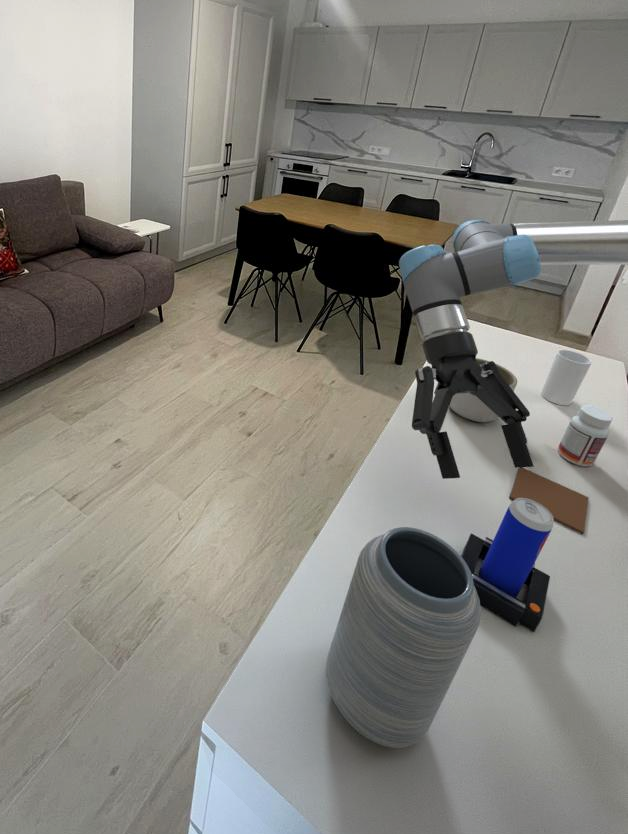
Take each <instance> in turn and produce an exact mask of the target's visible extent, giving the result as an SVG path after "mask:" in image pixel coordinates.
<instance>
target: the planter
mask: <svg viewBox="0 0 628 834" xmlns="http://www.w3.org/2000/svg"><path fill="white" fill-rule="evenodd" d="M476 361H477V362H478V364H479V365H480V364H483V363H487V362H490V361H491V360H490V361H489V360H486V359H483V358H478V357H476ZM495 364H496V366H497V368H498V371H499V373H500V375H501V376H502V377H503V379H504V380H505V381H506V382H507V384H508V385H509V386H510V388H511V389H512V390H513V391H514V392H515V389H516V387H517V386H518V378H517V377H516V375H515V374H514V373H513V372H511V371H510V370H508V369H507V368H506V367H504V366H502V365H500V364H497V363H495ZM478 386H479V385H478ZM449 408H450V409H451V410H452V411H453V412H454V413H455V414H457V415H459V416H460V417H462V418H464V419H466V420H469V421H472V422H477V423H491V422H494V421H496V420H498V419H500V418H499V417H498V416H497V415H496V414H495V413H494V412H493V411H492V410H491V409H489V408H488V407H487V406H486V405H485V404H484V403H483V402H482V401H481V400H480V399H479V398H478V397H476V396H475V395H472V394H470V393H465V394H462V393H459V394H455V395H454V396H453V397H452V400H451V403H450V405H449Z"/></svg>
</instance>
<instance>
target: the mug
mask: <svg viewBox="0 0 628 834" xmlns="http://www.w3.org/2000/svg"><path fill="white" fill-rule="evenodd" d="M592 363H593V361H592V360H591V359H590V358H589V357H588V356H586V355H584V354H583V353H580V352H577V351H574V350H571V349H558V350H557V352H556V354H555V356H554V359H553V361H552V364H551V366H550V369H549V371H548V374H547V377H546V379H545V381H544V384H543V386H542V389H541V390H540V391H541V392H540V395H541V397H543V398H544V399H545V400H546V401H549V402H550V403H553V404H556V405H559V406H565V405H566V406H570V405H571V404H572V402H573V401H574V399H575V397H576V395H577V393H578V390H579V389H580V387H581V385H582V383H583V381H584V379H585V377H586V375H587V373H588V371H589V369H590V367H591V365H592Z"/></svg>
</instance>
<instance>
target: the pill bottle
mask: <svg viewBox="0 0 628 834" xmlns="http://www.w3.org/2000/svg"><path fill="white" fill-rule="evenodd" d="M613 420H614V419H613V416H612V415H611V414H610V413H609V412H608V411H606V410H604V409H603V408H601V407H598V406H594V405H590V404H583V405H581V406H580V407H579V410H578V412H577V415H574V416H573V417H572V418H571V419H570V421H569V423H568V424H567V427H566V429H565V431H564V433H563V435H562V438H561V440H560V442H559V444H558V447H557V452H558V454H559V456H561V457H562V458H563V459H565V460H566V461H568V462H569V463H572V464H573V465H576V466H580V467H585V468H586V467H592V466H593V465H594V464H595V462H596V460H597V458H598V456H599V454H600V453H601V451H602V449H603V447H604V445H605V443H606V441H607V440H608V438H609V435H610V429H609V427H610V426H611V423H612V421H613Z"/></svg>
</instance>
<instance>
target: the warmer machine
mask: <svg viewBox="0 0 628 834" xmlns="http://www.w3.org/2000/svg"><path fill="white" fill-rule="evenodd" d="M493 540H494V539H492V538H490V537H487V536H486V537H485V539H483V538H481V537H479V536H477V535H475V534H474V533H472V532H471V533H470V534H469V536H468V539H467V541H466V543H465V545H464V548H463V551H462V552H461V554H460V556H461V557H462V558H463V559H464V561H465V562H466V564H467V565H468V567H469V569H470V571H471V574H472V577H473V583H474V586H475V588H476V591H477V594H478V597H479V600H480V607H483V608H484V609H486V610H487V611H489V612H490V613H492V614H494V615H496V616H497V617H499V618H500V619H502V620H503V621H505V622H507V623H509V624H510V625H512V626H514V627H517V626H518V624H520V625H522V626H523V627H524V628H526V629H528V630H530V631H531V632H533V633H535V631H536V630H537V628H538V626H539V624H540V622H541V621H542V619H543V616H544V609H545V605H546V601H547V600H546V599H547V596H548V595H547V594H548V588H549V583H550V579H551V575H549V574H548V573H545V572H543V571H542V570H540V569H538V568H536V562H535V563H534V565H533V567H532V569H531V571H530V573H529V575H528V577H527V579H526V581H525V582H524V584H523V585H524V586H525V589H524V593H523V596H522V599H520V598H518V596H517V597H515V596H513V595H512V594H510V593H508V592H506V591H505V590H503V589H501V588H500V587H498V586H496V585H495V584H493V583H491V582H489V581H488V580H486V579H484V578H483V577H481V576H479V574H477V573H476V572H474V571H475V569H476V566H477V563H478V561H479V560H481V561H482V562H484V559H485V557H486V555H487V553H488V551H489V548H490V546H491V544H492V542H493Z"/></svg>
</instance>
